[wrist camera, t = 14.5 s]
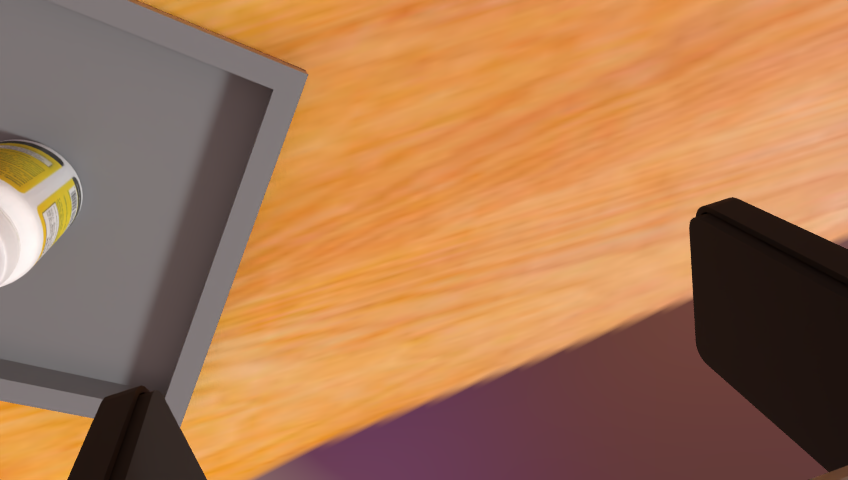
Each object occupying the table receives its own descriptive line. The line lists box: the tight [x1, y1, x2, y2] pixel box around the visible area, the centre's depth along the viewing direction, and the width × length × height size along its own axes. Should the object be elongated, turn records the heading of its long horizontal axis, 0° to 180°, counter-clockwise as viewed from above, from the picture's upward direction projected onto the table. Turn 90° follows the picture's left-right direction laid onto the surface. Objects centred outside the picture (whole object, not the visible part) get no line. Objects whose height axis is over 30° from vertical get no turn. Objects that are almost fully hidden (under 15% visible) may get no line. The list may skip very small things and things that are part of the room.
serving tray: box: [0, 0, 308, 427], centre depth 28 cm, size 20×20×2 cm
